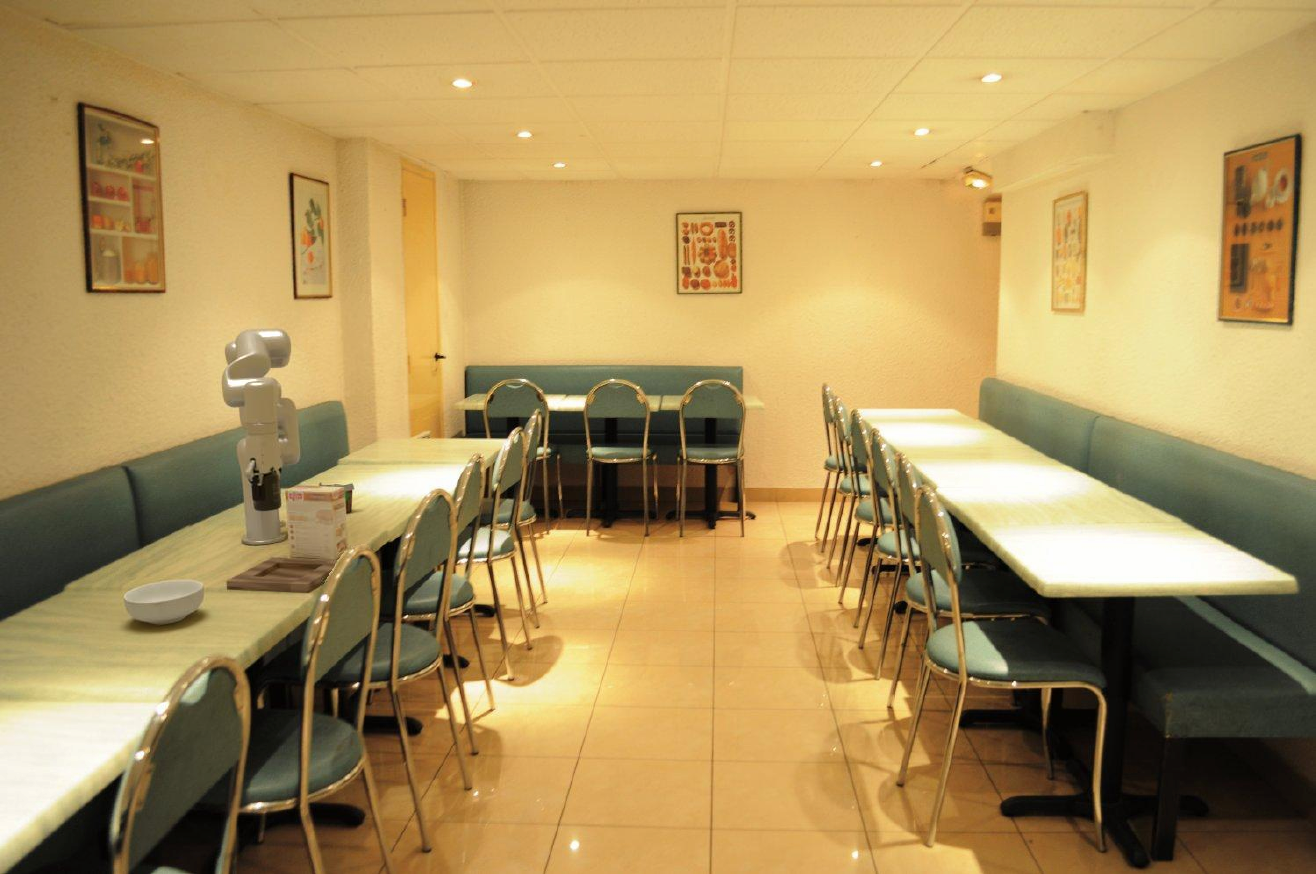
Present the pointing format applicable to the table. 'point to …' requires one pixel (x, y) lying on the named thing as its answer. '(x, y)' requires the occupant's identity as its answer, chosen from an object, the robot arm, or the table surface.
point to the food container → (347, 495)
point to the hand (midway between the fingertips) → (266, 496)
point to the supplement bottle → (269, 492)
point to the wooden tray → (284, 575)
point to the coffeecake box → (316, 521)
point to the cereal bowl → (164, 601)
